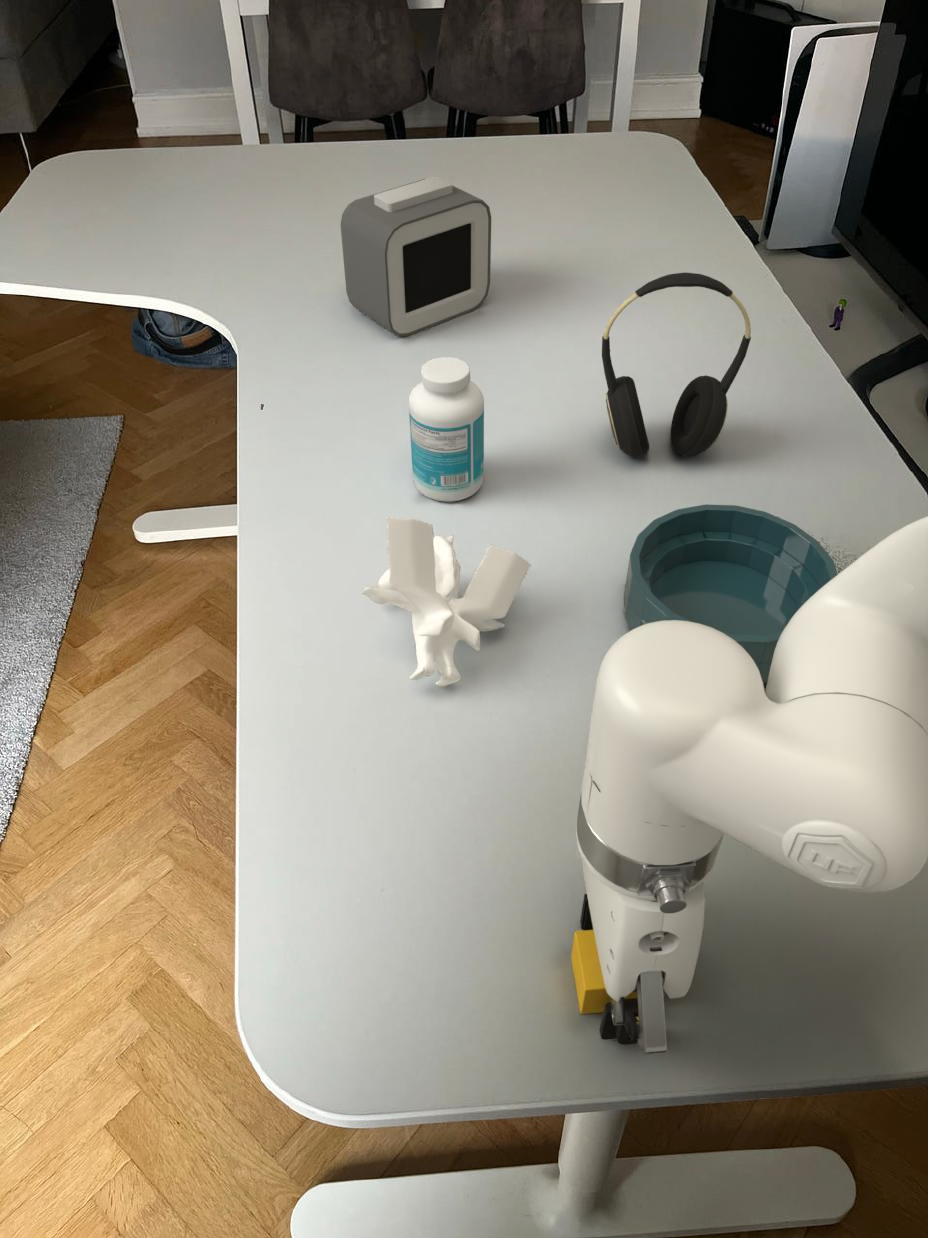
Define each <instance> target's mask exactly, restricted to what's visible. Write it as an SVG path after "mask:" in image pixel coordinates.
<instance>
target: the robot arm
mask: <svg viewBox="0 0 928 1238" xmlns="http://www.w3.org/2000/svg"><path fill="white" fill-rule="evenodd" d="M764 686H765V685H764V683H763V682H762V678H761V675H760V672H759V669H758V668H757V666H756V664H755V662H754V660H753V659H752V658H751V656H750V655H749V654H748V653H747V652H746V651H745V649H744V648H743V647H742V646H741V645H739V644H738V643H737V642H736V641H735V640H734V639H732V638H730V637H729V636H727V635H726V634H724V633H722V632H720V631H718V630H716V629H714V628H712V627H709V626H706V625H703V624H699V623H694V622H689V621H680V620H663V621H657V622H652V623H648V624H644V625H642V626H639V627H637V628H635V629H633V630H632V629H630V630H629V631H627V632H626V633H625V634H623V635H622V636H620V637H619V638H618V639H617V640H616V641H615V642H614V643H613V644H612V645H611V646H610V648H609V649H608V650H607V652H606V654H605V655H604V657H603V659H602V661H601V663H600V666H599V669H598V674H597V678H596V682H595V687H594V696H593V704H592V710H591V718H590V726H589V735H588V741H587V746H586V747H587V749H586V756H585V763H584V770H583V776H582V782H581V790H580V795H579V803H578V810H577V811H578V812H577V818H576V825H575V841H576V846H577V849H578V851H579V855H580V856H581V863H582V864H581V865H582V872H583V879H584V885H585V890H586V892H585V893H584V895H583V901H582V908H581V913H580V921H579V923H580V924H579V925H580V929H581V931H584V930H594V935H595V941H596V946H597V951H598V956H599V961H600V966H601V971H602V976H603V980H604V984H605V988H606V991H607V994H608V995H609V996H610V997H611V1002H608V1003H606V1005H605V1008H604V1012H602V1017H601V1022H600V1026H599V1034H600V1040H603V1041H610V1040H616V1041H617V1043H618V1044H619V1045H624V1046H625V1045H635V1044H637V1045H638V1047H639V1048H640V1050H641V1051H642V1053H643V1054H644V1055H652V1054H662V1053H664V1054H665V1053H667V1051H668V1042H667V1029H666V1027H667V1026H666V1014H665V997H664V992H665V993H666V995H667V997H668V998H669V999H676V998H677V999H679V998H683V997H685V996H686V995H687V993H688V992H689V990H690V988H691V985H692V982H693V978H694V975H695V970H696V967H697V962H698V959H699V954H700V949H701V944H702V939H703V938H702V937H703V931H704V923H705V909H706V900H705V899H706V892H705V890H706V889H705V881H706V880H707V878H708V877H709V875H710V874H711V872H712V869H713V868H714V865H715V862H716V860H717V856H718V854H719V850H720V847H721V844H722V842H723V838H724V835H727V836H729V837H731V838H733V839H734V840H736V841H738V842H740V843H741V844H743V845H745V846H747V847H748V848H749V849H752V850H753V851H756V852H757V853H759V854H761V855H762V856H764V857H765V858H768V859H769V860H771V861H773V862H774V863H776V864H779V865H780V866H782V867H784V868H786V869H788V870H790V871H792V872H794V873H796V874H797V875H801V876H803V877H804V878H807V879H809V880H810V881H812V882H814V883H816V884H819V885H821V886H824V887H827V888H831V889H836V890H841V891H845V892H852V893H859V894H878V893H884V892H889V891H892V890H893V891H894V890H895V889H898V888H901V887H902V886H905V885H906V884H908V883H910V881H912V880H913V879H915V877H917V875H918V874H919V873H920V872H921V871H922V869H923V868H924V866H925V864H926V863H927V861H928V515H927V516H924V517H922V518H920V519H918V520H915V521H913V522H911V523H909V524H907V525H904V526H903V527H901V528H899V529H898V530H896V531H894V532H892V533H891V534H889V535H888V536H887V537H885V538H883V539H882V540H880V541H879V542H878V543H876V544H875V545H874V546H873V547H871V548H870V549H868V550H867V551H866V552H865V553H863V554H862V555H860V557H858V558H857V559H855V560H854V561H853V562H852V563H851V564H849V565H848V566H846V567H845V568H844V569H843V570H842V571H840V572H839V573H838V575H837V576H835V577H834V578H833V579H831V580H830V581H829V582H828V583H827V584H825V585H824V586H823V587H822V588H821V589H819V590H818V591H817V592H816V593H815V594H814V595H813V596H811V597H810V598H809V599H808V600H807V601H806V602H805V603H804V604H803V605H802V606H801V608H800V609H799V610H798V611H797V612H796V613H795V614H794V616H793V617H792V618H791V620H790V621H789V623H788V624H787V626H786V627H785V629H784V630H783V632H782V634H781V635H780V638H779V640H778V642H777V645H776V648H775V651H774V655H773V659H772V663H771V667H770V672H769V677H768V681H767V682H766V688H765V687H764ZM662 979H663V982H662ZM636 991H637V998H631V999H624V997H626V996H628V995H629V994H630V993H631V992H636Z"/></svg>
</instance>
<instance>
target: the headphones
mask: <svg viewBox="0 0 928 1238" xmlns="http://www.w3.org/2000/svg"><path fill="white" fill-rule="evenodd" d="M676 287H677V288H681V287H682V288H705V289H708V290H711V291H715V292H718V293H719V294H722V295H723V296H725V297H727V298H729V299H730V300H732V301H733V303H735V305H736V306H737V307H738V309H739V311H740V312H741V315H742V317H743V320H744V325H745V330H744V334H743V336H742V339H741V342H740V345H739V348H738V350H737V353H736V355H735V357H734V358H733V360H732V362H731V364H730V366H729V367H728V369H727V370H726V372H725V373H724V375H723V376H722V378H721V380H718V379H717V378H716V377H713V376H710V375H705V374H704V375H699V376H697V377H695V378H694V379H692V380H691V381H690V382H689V383H688V384H687V385H686V386H685V387H684V390H683V391H682V393H681V395H680V397H679V399H678V400H677V403H676V406H675V409H674V412H673V415H672V419H671V424H670V442H671V446H672V448H673V450H674V451H675V453H678V455H681V456H682V457H686V458H695V457H697V456H700V455H701V454H703V453H704V452H706V451H707V450H709V449H710V448H711V447H713V446H714V444H715V443H716V442H717V440H718V439H719V437H720V435H721V433H722V431H723V430H724V429H723V428H724V427H725V423H726V419H727V415H728V409H729V408H728V407H729V403H728V397H727V393H728V392H729V390H730V388H731V386H732V384H733V382H734V380H735V378H736V377H737V375H738V373H739V371H740V369H741V367H742V364H743V362H744V360H745V359H746V356H747V352H748V349H749V346H750V343H751V339H752V336H751V331H752V330H751V329H752V328H751V322H750V317H749V314H748V312H747V310H746V308H745V307H744V305H743V303H742V302H741V301H740V299H739V298H738V297H737V296H736V295H735V294H734V292H733V290H732V289H731V288H730V287H728V286H727V285H725V284H724V283H723V282H722V281H720V280H717V279H715V278H713V277H711V276H709V275H704V274H702V273H696V272H695V273H694V272H685V271H684V272H675V273H669V274H666V275H662V276H660V277H658V278H655V279H652V280H651V281H648V282H646V283H645V284H644V285H643V286H642V285H641V287H639V288H637V290H635V292H634V293H633V294H632V295H631V296H629V297H628V298H626V300H625V301H623V302H622V303H621V304H620V305H619V306H618V307H617V308H616V309H615V311H614V312H613V313H612V315H611V316H610V318H609V319H608V322H607V324H606V325H605V329H604V332H603V335H602V337H601V360H602V366H603V373H604V377H605V381H606V386H607V391H606V393H605V403H606V404H605V405H606V411H607V415H608V416H607V417H608V421H609V424H610V428H611V433H612V436H613V439H614V441H615V444H616V446H617V448H618V450H619V451H621V452H623V453H624V454H625V455H627V456H629V457H631V458H639V457H643V456H644V455H646V454H647V453H649V450H650V443H649V437H648V435H647V434H648V433H647V430H646V425H645V421H644V416H643V413H642V408H641V404H640V400H639V396H638V392H637V387H636V382H635V380H634V378H632V377H631V376H628V375H621V376H618V377H616V374H615V373H616V372H615V370H614V367H613V363H612V356H611V345H610V344H611V342H610V331H611V329H612V327H613V325H614V323H615V321H616V319H617V318H618V316H619V315H620V314H621V313H622V312H623V311H624V309H626V308H627V307H628V306H629V305H630V304H631V303H632V302H634V301H635V300H637V299H638V298H642V297H644V296H645V295H648V294H651V293H654V292H657V291H661V290H665V289H668V288H676Z"/></svg>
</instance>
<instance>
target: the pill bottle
mask: <svg viewBox="0 0 928 1238" xmlns="http://www.w3.org/2000/svg"><path fill="white" fill-rule="evenodd" d="M420 370H421V371H420V382H418V383H417V385H416V386H414V387H413V389H412V390H411V392H410V394H409V397H408V417H409V433H410V434H409V436H410V452H411V453H410V454H411V466H412V481H413V484H414V486H415V488H416V490H418V492H419V493H420V494H421V495H423V496H425V497H426V498H429V499H430V500H434V501H438V502H457V501H461V500H465V499H467V498H469V497H472V496H473V495H475V494H476V493H477V492H478V491H479V490H480V488H481V487H482V486H483V483H484V478H485V399H484V398H485V397H484V395H483V392H482V390H481V388H480V387H479V386H478V385H477V384H476V383H475V382H473V381H472V380H471V370H470V365H469V364H468V363H467V362H466V361H465V360H462V359H461V358H457V357H453V356H452V357H451V356H440V357H436V358H433V359H430V360H428V361H426V362H425V363H424V364H423V365H422V366H421V368H420Z"/></svg>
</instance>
